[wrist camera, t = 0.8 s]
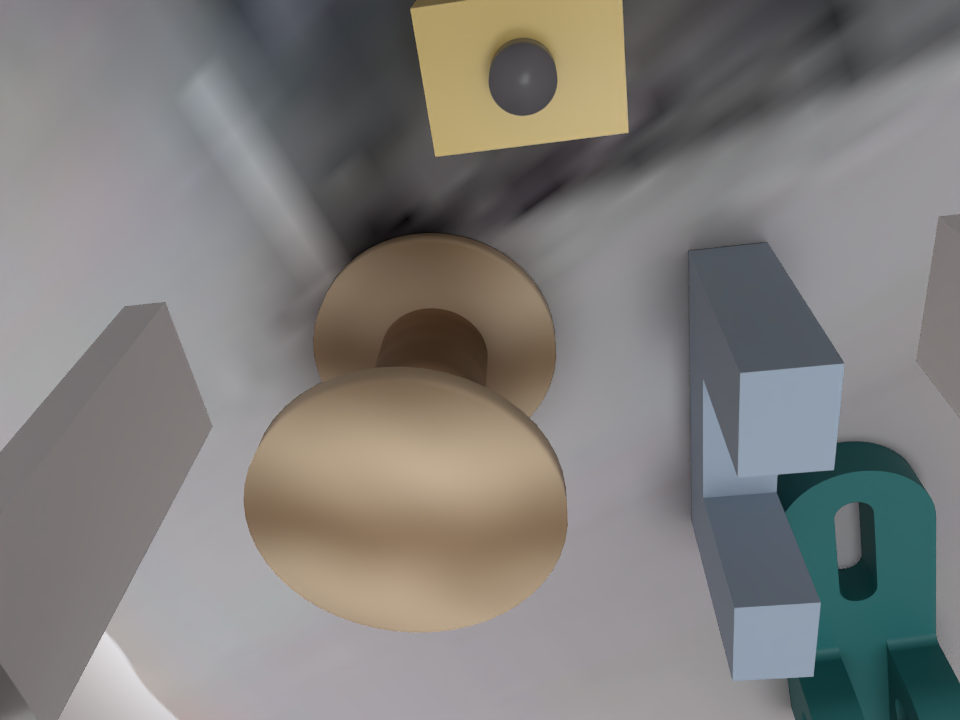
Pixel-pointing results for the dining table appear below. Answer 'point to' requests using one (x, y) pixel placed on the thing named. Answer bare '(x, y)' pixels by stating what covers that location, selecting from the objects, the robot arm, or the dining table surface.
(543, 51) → the yellow block
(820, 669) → the bracket
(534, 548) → the bobbin
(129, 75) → the dining table surface
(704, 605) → the dining table surface
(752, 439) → the notch board
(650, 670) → the dining table surface
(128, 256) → the dining table surface
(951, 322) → the robot arm
